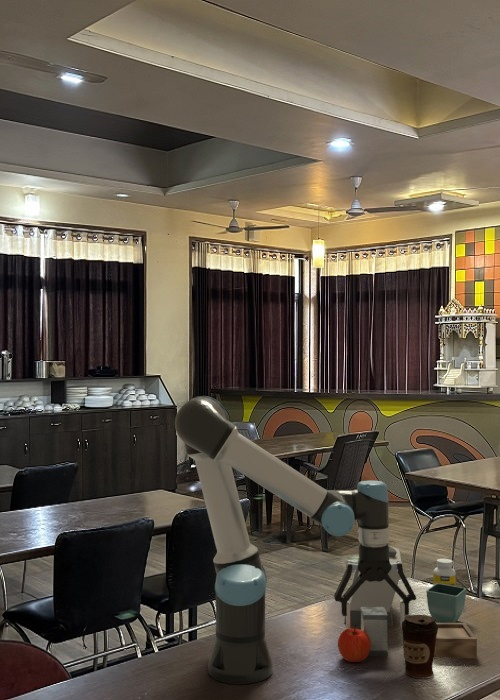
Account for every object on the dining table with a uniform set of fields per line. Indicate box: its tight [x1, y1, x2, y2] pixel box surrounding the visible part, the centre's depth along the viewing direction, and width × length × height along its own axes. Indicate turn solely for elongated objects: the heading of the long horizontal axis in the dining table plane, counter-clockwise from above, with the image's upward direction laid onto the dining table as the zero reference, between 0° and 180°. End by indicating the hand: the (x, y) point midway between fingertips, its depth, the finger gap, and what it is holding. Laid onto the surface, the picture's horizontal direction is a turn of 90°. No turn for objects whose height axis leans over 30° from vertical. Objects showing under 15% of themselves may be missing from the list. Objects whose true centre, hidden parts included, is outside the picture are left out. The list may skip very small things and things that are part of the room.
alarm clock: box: [343, 545, 403, 627], centre depth 225 cm, size 20×16×20 cm
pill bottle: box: [432, 558, 457, 587], centre depth 237 cm, size 6×6×12 cm
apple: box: [337, 626, 371, 663], centre depth 191 cm, size 8×8×8 cm
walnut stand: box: [434, 622, 478, 659], centre depth 198 cm, size 11×11×5 cm
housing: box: [360, 607, 389, 656], centre depth 197 cm, size 6×6×10 cm
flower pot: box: [426, 583, 467, 623], centre depth 218 cm, size 9×9×9 cm
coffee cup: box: [401, 614, 438, 679], centre depth 183 cm, size 9×8×13 cm
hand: (375, 628), depth 197 cm, fingers open, 13 cm apart
